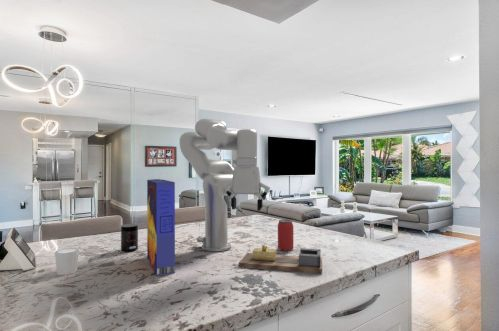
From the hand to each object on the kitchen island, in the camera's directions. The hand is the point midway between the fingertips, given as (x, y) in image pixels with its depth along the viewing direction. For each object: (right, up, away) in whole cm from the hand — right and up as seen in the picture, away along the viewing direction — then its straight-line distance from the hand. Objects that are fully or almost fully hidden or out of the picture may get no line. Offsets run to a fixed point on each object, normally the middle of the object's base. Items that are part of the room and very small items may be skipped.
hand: (246, 209), depth 109 cm
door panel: (+12, -19, -4) cm, 23 cm away
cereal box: (-31, -19, -4) cm, 36 cm away
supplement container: (-49, -19, +14) cm, 54 cm away
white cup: (-59, -19, -11) cm, 63 cm away
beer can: (+16, -19, +15) cm, 29 cm away
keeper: (+22, -17, -7) cm, 29 cm away
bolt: (+6, -17, -3) cm, 19 cm away
